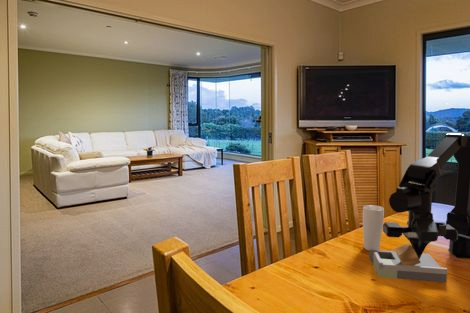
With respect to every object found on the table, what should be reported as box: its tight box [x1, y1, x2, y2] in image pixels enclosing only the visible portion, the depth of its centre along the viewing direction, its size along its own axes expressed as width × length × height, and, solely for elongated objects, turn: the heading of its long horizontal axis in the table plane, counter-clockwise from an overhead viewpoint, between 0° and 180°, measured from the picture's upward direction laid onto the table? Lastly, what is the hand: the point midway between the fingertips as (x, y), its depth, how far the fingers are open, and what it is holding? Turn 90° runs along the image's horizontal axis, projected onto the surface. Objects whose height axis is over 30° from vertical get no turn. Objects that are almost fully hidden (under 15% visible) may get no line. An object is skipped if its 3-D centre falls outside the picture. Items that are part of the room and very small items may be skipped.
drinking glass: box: [362, 204, 385, 252], centre depth 117 cm, size 7×7×15 cm
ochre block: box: [394, 242, 421, 266], centre depth 100 cm, size 4×4×4 cm
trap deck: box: [368, 249, 448, 283], centre depth 103 cm, size 18×14×4 cm
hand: (417, 258), depth 99 cm, fingers closed, pressing on ochre block
